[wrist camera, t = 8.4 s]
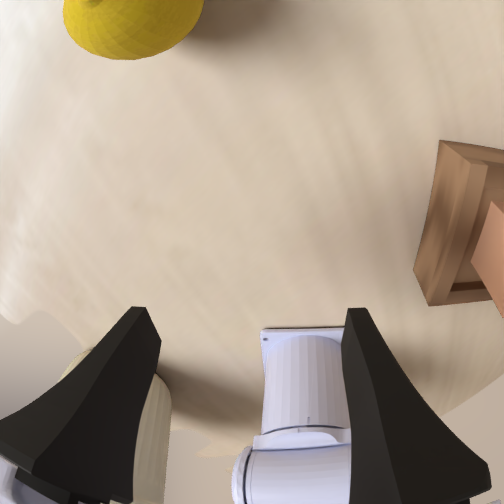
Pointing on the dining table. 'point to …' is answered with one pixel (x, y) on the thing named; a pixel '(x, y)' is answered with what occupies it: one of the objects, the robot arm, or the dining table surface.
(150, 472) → the canister
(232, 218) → the dining table surface
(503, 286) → the block
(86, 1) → the lemon
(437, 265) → the walnut base
